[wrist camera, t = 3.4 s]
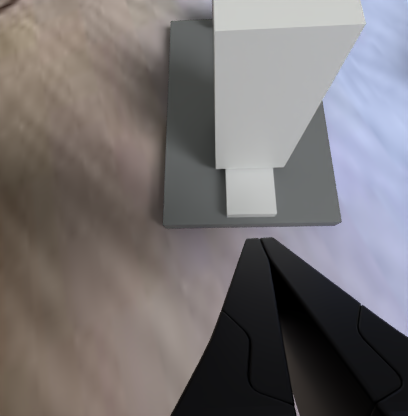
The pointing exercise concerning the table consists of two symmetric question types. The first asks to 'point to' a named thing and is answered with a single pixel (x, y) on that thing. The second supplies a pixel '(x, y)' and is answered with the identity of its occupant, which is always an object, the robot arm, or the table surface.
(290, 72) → the block
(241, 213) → the din rail plate
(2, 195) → the table surface
